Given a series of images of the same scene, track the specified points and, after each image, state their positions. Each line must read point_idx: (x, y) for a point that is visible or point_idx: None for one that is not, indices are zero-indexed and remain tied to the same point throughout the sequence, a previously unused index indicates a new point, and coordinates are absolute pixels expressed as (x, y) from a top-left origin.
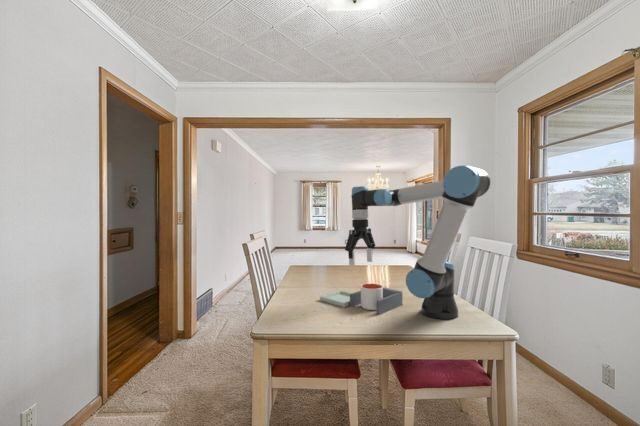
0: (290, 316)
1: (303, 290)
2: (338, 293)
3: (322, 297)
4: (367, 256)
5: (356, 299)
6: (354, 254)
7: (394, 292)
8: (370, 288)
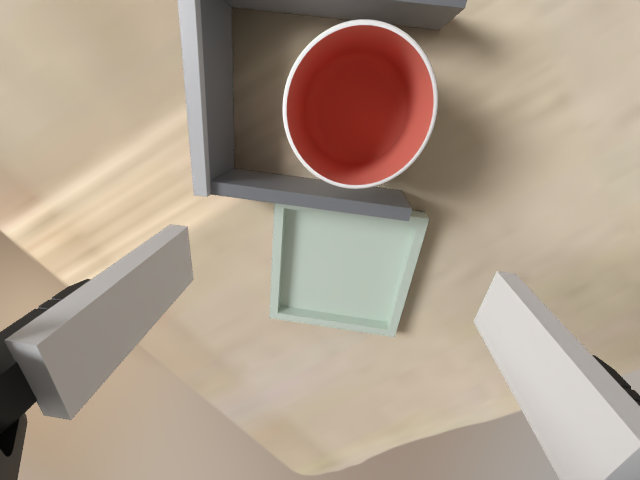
0: (614, 312)
1: (322, 413)
2: (297, 311)
3: (397, 325)
4: (159, 309)
5: (369, 193)
6: (595, 385)
7: (204, 23)
8: (305, 153)
